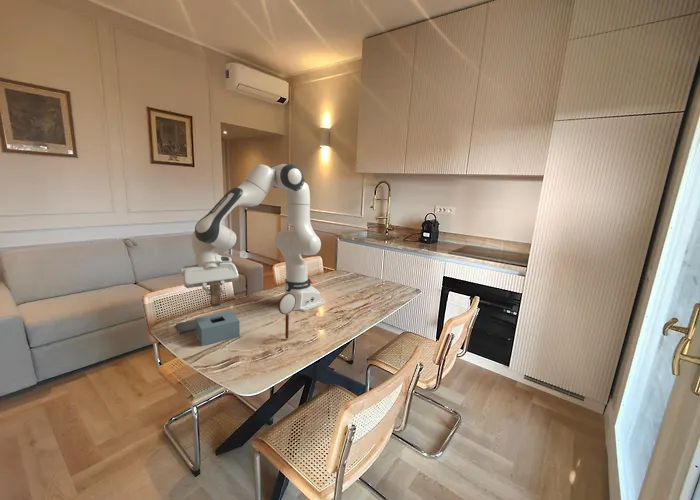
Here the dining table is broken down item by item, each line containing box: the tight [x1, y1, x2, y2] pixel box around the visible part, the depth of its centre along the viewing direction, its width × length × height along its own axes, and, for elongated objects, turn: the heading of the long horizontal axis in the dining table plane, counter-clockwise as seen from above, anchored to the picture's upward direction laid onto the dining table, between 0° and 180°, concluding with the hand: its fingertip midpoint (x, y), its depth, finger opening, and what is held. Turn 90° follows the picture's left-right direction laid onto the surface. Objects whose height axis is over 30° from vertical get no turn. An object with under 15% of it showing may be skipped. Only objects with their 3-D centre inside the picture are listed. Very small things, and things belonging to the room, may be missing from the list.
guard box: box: [194, 310, 241, 347], centre depth 120 cm, size 14×11×7 cm
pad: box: [175, 319, 196, 335], centre depth 126 cm, size 9×9×1 cm
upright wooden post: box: [209, 282, 222, 308], centre depth 117 cm, size 3×3×9 cm
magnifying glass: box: [277, 293, 296, 341], centre depth 118 cm, size 9×2×20 cm, turn 142°
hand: (215, 293), depth 116 cm, fingers closed on upright wooden post, 3 cm apart
